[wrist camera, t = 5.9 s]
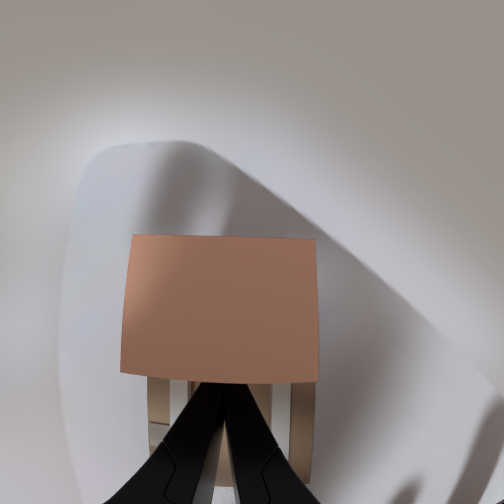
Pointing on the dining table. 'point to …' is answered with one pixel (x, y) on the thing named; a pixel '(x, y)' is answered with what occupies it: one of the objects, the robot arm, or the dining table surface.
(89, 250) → the dining table surface
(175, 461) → the robot arm
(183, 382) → the wooden rail base
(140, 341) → the slider tab
